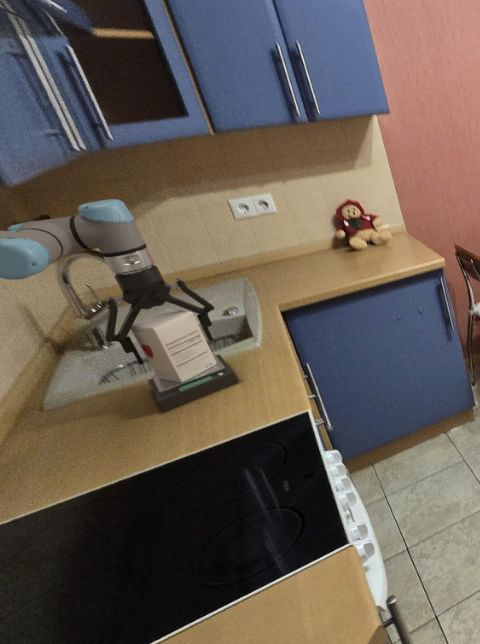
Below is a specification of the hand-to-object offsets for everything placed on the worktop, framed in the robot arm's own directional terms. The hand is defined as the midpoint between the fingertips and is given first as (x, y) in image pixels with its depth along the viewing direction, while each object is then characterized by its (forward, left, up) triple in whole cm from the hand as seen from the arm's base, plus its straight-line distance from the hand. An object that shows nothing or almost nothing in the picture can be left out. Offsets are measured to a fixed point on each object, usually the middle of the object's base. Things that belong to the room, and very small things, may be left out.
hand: (177, 350), depth 129 cm
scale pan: (0, 0, -7) cm, 7 cm away
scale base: (+1, 0, -10) cm, 10 cm away
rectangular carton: (0, 0, -6) cm, 6 cm away
